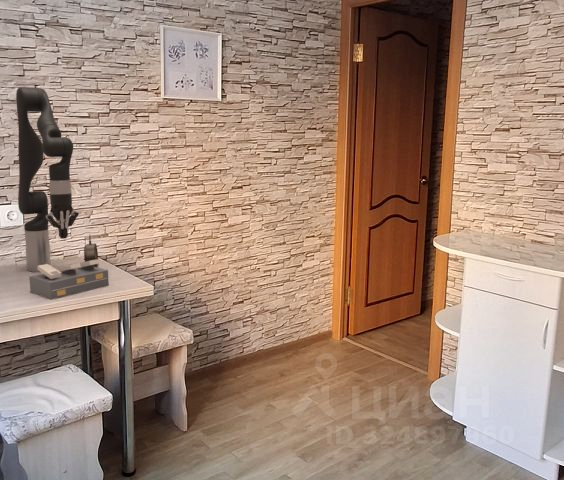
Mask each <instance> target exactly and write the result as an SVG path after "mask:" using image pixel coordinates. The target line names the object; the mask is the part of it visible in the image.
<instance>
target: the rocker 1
mask: <svg viewBox="0 0 564 480" xmlns="http://www.w3.org/2000/svg"><path fill="white" fill-rule="evenodd" d="M37 270H38V271H40V274H44V275H46V276H47V277H49V278H50V279H53V278H58V277H61V272H59V271H58V269H57V268H55V267H54V266H52V265H51V266H50V265H49V264H44V265H39V266H38V269H37Z"/></svg>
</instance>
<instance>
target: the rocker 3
mask: <svg viewBox="0 0 564 480" xmlns="http://www.w3.org/2000/svg"><path fill="white" fill-rule="evenodd" d="M79 263H80V266H81V267H83V266H89V265H94V264H98V265H100V260H99V258H98V259H97V260H96V259H95V260H90V261H87V262H85V261H83V262H79Z"/></svg>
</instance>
